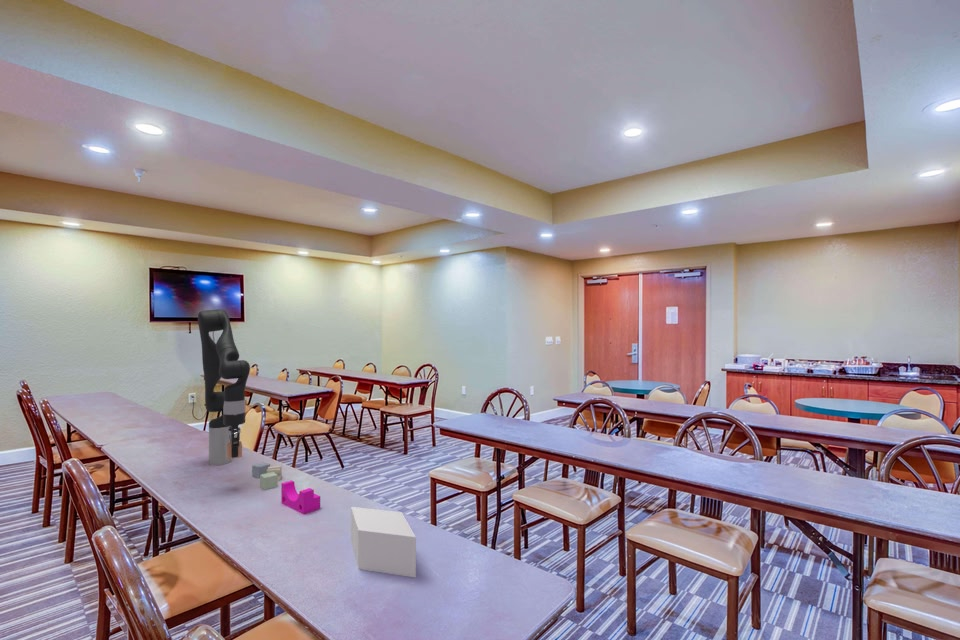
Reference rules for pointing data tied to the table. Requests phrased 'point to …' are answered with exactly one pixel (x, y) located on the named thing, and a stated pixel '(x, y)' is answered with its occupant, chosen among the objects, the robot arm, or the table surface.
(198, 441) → the table surface
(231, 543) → the table surface
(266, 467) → the cube slate
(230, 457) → the cube terracotta
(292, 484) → the toy block
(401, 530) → the white rectangular block
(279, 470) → the cube cream
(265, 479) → the cube sage
